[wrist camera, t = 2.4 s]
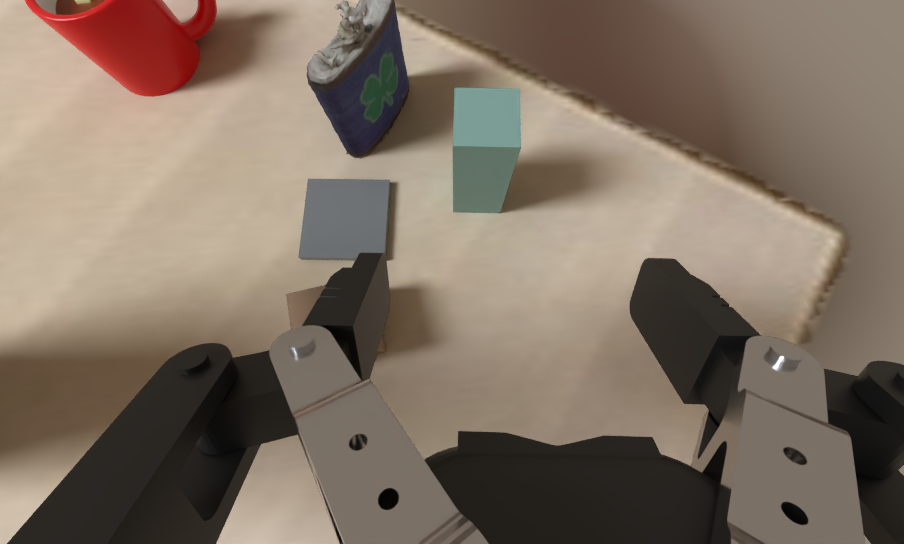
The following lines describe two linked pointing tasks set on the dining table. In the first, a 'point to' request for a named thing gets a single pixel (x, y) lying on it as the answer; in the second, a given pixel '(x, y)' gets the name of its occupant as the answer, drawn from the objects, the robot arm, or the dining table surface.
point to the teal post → (484, 147)
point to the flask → (362, 75)
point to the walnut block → (309, 308)
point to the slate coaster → (344, 218)
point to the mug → (132, 38)
